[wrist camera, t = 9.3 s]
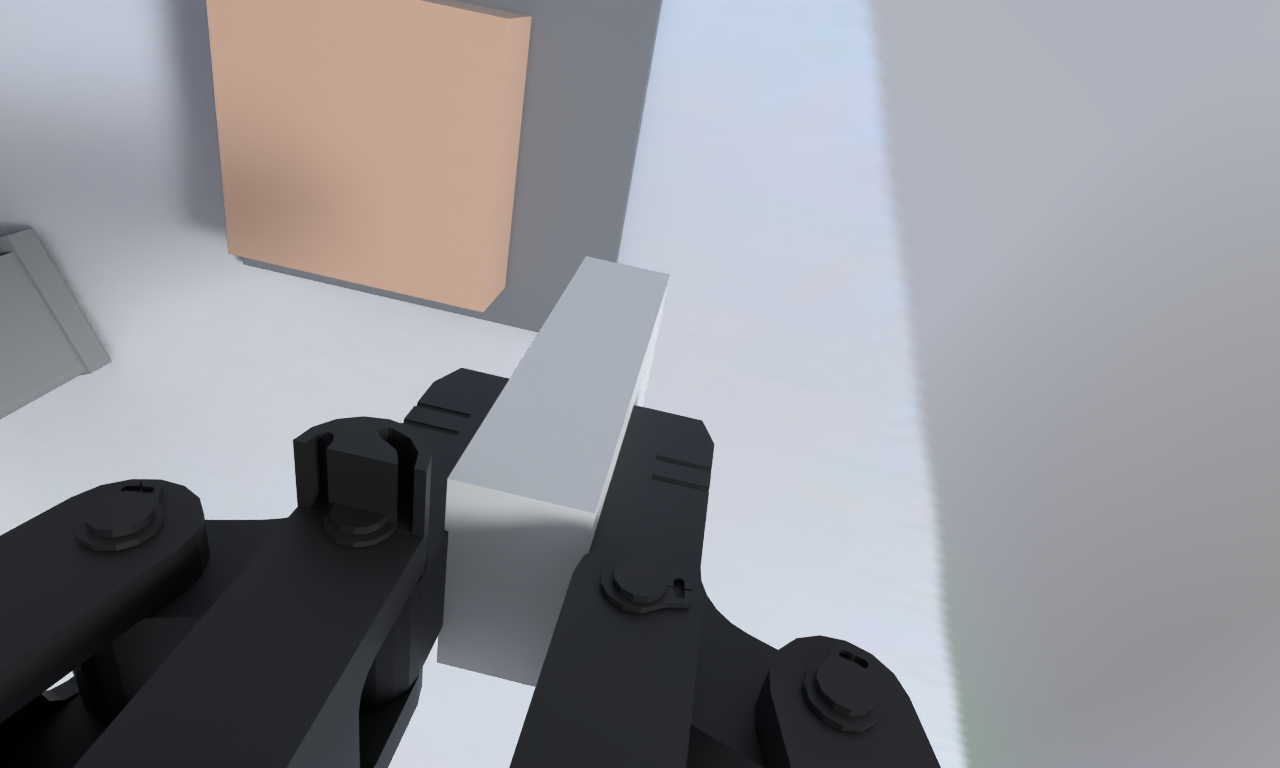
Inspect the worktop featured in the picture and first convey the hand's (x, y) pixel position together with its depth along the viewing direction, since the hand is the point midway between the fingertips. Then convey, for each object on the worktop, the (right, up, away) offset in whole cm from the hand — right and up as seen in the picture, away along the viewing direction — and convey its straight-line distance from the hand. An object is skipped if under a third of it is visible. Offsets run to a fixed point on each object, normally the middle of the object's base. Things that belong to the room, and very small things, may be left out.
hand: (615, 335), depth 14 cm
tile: (-4, +6, +11) cm, 13 cm away
